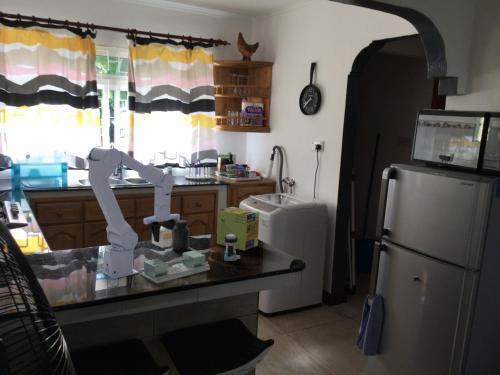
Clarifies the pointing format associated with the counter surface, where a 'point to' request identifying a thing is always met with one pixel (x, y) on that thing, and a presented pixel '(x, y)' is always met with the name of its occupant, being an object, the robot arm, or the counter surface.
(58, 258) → the counter surface
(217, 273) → the counter surface
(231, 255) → the push button
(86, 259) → the counter surface
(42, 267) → the counter surface
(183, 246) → the supplement bottle
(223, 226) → the protein box
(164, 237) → the block
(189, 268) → the din panel
